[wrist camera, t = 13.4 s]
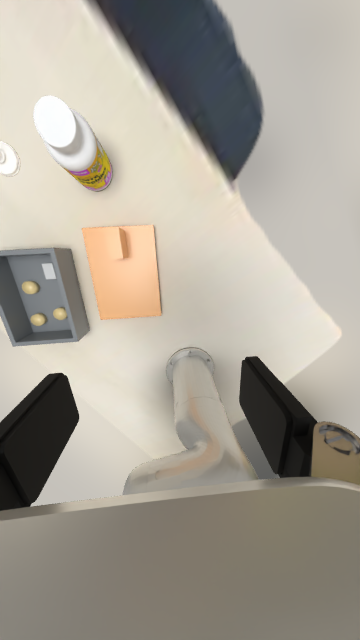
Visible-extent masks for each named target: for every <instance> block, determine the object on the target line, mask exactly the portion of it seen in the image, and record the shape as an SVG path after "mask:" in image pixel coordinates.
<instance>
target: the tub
mask: <svg viewBox="0 0 360 640" xmlns="http://www.w3.org/2000/svg"><path fill="white" fill-rule="evenodd" d="M0 316H1V318H2V321H3V323H4V326H5V328H6V331H7V333H8V336H9V338H10V341H11V343H12V345H13V346H25V345H38V344H51V343H64V342H77V341H79V340H80V339H81V338H82V337H83V336H84V335H86V334H87V333H88V332H89V331H90V329H89V324H88V320H87V316H86V312H85V308H84V303H83V299H82V295H81V291H80V286H79V282H78V278H77V274H76V270H75V265H74V261H73V257H72V253H71V249H61V248H43V249H23V250H4V251H0Z"/></svg>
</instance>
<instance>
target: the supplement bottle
mask: <svg viewBox="0 0 360 640" xmlns="http://www.w3.org/2000/svg"><path fill="white" fill-rule="evenodd" d="M33 117H34V123H35V126H36V129H37V131H38V133H39V134H40V136H41V137H42V138H43V140H44V143H45V146H46V148H47V150H48V152H49V153H50V155H51V156H52V157H53V159H54V160H55V161H56V162H57V163H58V164H59V165H60V166H62V167H63V168H64V169H65V170H66V171H67V172H69V173H70V174H71V175H72V176H73V177H74V178H75V179H76V180H78V181H79V182H80V183H81V184H82V185H83V186H85V187H86V188H88V189H90V190H93V191H100V190H103V189H105V188H106V187H107V186H108V185H109V183H110V181H111V178H112V167H111V163H110V161H109V159H108V157H107V155H106V153H105V151H104V150H103V148H102V146H101V144H100V143H99V141H98V139H97V138H96V136H95V134H94V132H93V131H92V129H91V127H90V125H89V124H88V122H87V121H86V120H85V119H84V117H83V116H82V115H80V114H79V113H78V112H76V111H75V110H73V109H71V108H69V107H68V105H67V104H66V103H65V102H64V101H62V100H61V99H59V98H57V97H55V96H44V97H42V98H40V99H39V100H38V102H37V103H36V105H35V108H34V114H33Z"/></svg>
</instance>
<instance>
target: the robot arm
mask: <svg viewBox="0 0 360 640" xmlns="http://www.w3.org/2000/svg"><path fill="white" fill-rule="evenodd" d="M166 372H167V377H168V379H169V381H170V382H171V384H172V385H173V394H174V413H175V427H176V431H177V434H178V437H179V439H180V440H181V442H182V443H183V445H184V446H185V447H186V448H187V449H188V450H186V451H182V452H181V453H178V454H174V455H170V456H167V457H163V458H159V459H156V460H152V461H148V462H146V463H143V464H141V465H139V466H137V467H136V468H135V469H133V470H132V472H131V473H130V474H129V476H128V478H127V480H126V483H125V486H124V490H123V495H122V496H114V497H105V498H97V499H89V500H81V501H73V502H65V503H57V504H49V505H41V506H33V507H30V505H31V504H32V503H33V502H35V501H36V500H37V498H38V497H39V495H40V492H41V491H42V489H43V487H44V485H45V483H46V481H47V479H48V478H49V476H50V474H51V472H52V470H53V468H54V466H55V464H56V463H57V461H58V459H59V457H60V455H61V453H62V451H63V449H64V448H65V446H66V444H67V442H68V440H69V438H70V436H71V434H72V433H73V431H74V429H75V427H76V425H77V423H78V421H79V413H78V410H77V407H76V403H75V400H74V397H73V394H72V390H71V387H70V384H69V381H68V378H67V376H66V375H64V374H63V373H54V374H49V375H47V376H46V377H45V378H44V379H43V380H42V381H41V382H40V383H39V384H38V385H37V386H36V387H35V388H34V389H33V390H32V391H31V392H30V393H29V394H28V395H27V396H26V397H25V398H24V399H23V400H22V401H21V402H20V404H18V405H17V406H16V407H15V408H14V409H13V410H12V411H11V412H10V413H9V414H8V415H7V416H6V417H5V418H4V419H3V420H2V421H1V422H0V640H360V438H359V437H358V436H357V435H355V434H354V433H353V432H352V431H350V430H348V429H347V428H345V427H343V426H341V425H339V424H336V423H332V422H325V421H323V422H317V421H316V420H315V419H314V418H313V416H311V414H310V413H309V412H308V411H307V410H306V409H305V408H304V407H303V406H302V404H301V403H300V402H299V401H298V400H297V399H296V398H295V397H294V396H293V395H292V393H291V392H290V391H289V390H288V389H287V388H286V387H285V386H284V385H283V384H282V382H280V381H279V380H278V379H277V378H276V377H275V375H274V374H273V373H272V372H271V371H270V370H269V369H268V368H267V367H266V366H265V364H264V363H263V362H262V361H261V360H260V359H259V358H258V357H257V356H253V357H246V358H245V360H242V367H241V382H240V396H239V402H240V405H241V408H242V410H243V412H244V414H245V416H246V418H247V420H248V422H249V424H250V426H251V428H252V430H253V432H254V434H255V436H256V438H257V440H258V442H259V444H260V446H261V448H262V450H263V452H264V454H265V456H266V458H267V460H268V462H269V464H270V466H271V468H272V470H273V472H274V473H275V474H279V476H280V478H275V479H265V480H259V479H258V477H257V474H256V472H255V470H254V468H253V467H252V465H251V463H250V461H249V460H248V458H247V456H246V454H245V453H244V451H243V449H242V447H241V445H240V444H239V442H238V440H237V438H236V436H235V434H234V432H233V429H232V427H231V425H230V422H229V420H228V417H227V415H226V412H225V410H224V407H223V404H222V402H221V399H220V397H219V394H218V391H217V389H216V386H215V383H214V381H213V378H212V376H213V373H214V364H213V361H212V359H211V357H210V356H209V355H208V354H207V353H206V352H204V351H203V350H200V349H197V348H186V349H182V350H180V351H178V352H176V353H175V354H174V355H173V356H172V357H171V358H170V359H169V361H168V363H167V368H166Z"/></svg>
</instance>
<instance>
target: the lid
mask: <svg viewBox="0 0 360 640" xmlns="http://www.w3.org/2000/svg"><path fill="white" fill-rule="evenodd" d="M82 232H83V237H84V241H85V246H86V251H87V256H88V261H89V266H90V270H91V275H92V280H93V285H94V290H95V295H96V299H97V304H98V309H99V314H100V319H101V320H106V319H120V318H135V317H149V316H161V304H160V293H159V282H158V270H157V259H156V247H155V236H154V225H141V226H117V227H94V228H82Z"/></svg>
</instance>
